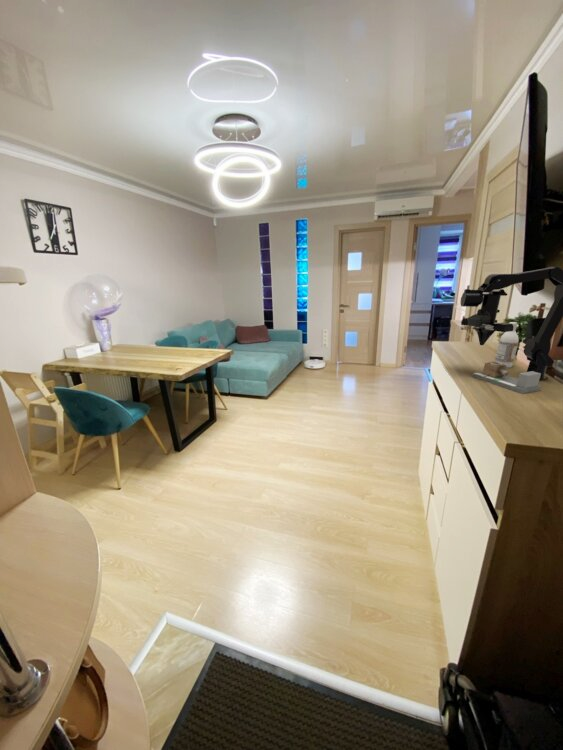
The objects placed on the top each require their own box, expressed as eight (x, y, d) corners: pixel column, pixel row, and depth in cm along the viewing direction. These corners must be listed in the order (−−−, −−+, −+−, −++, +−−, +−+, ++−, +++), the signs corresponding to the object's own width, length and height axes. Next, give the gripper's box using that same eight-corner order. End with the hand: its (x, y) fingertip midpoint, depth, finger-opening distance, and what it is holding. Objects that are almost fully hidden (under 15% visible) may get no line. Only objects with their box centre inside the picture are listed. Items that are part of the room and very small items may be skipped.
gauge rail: (489, 373, 132) (492, 359, 130) (540, 390, 114) (545, 373, 112) (472, 376, 128) (475, 361, 126) (522, 393, 111) (526, 376, 109)
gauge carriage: (491, 372, 128) (494, 360, 126) (510, 377, 121) (513, 365, 120) (479, 374, 126) (482, 362, 124) (497, 380, 119) (500, 367, 118)
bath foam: (508, 368, 138) (519, 324, 132) (491, 365, 144) (501, 322, 137) (514, 366, 142) (525, 322, 135) (498, 362, 147) (508, 320, 141)
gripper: (454, 305, 129) (448, 342, 134) (498, 310, 112) (489, 352, 117) (474, 304, 132) (467, 340, 137) (519, 309, 116) (509, 349, 121)
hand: (481, 345), depth 128 cm, fingers closed
